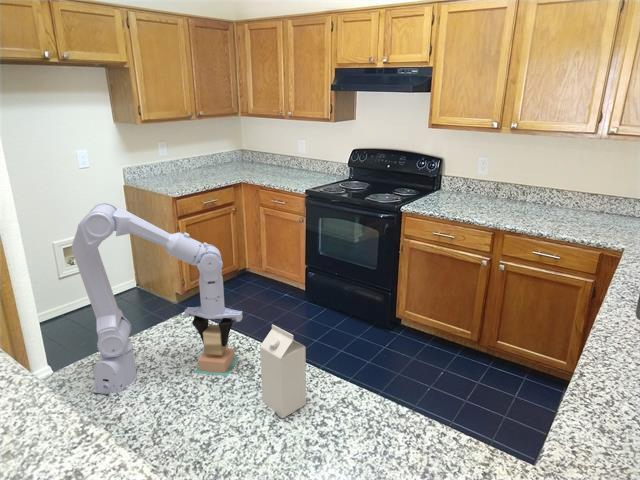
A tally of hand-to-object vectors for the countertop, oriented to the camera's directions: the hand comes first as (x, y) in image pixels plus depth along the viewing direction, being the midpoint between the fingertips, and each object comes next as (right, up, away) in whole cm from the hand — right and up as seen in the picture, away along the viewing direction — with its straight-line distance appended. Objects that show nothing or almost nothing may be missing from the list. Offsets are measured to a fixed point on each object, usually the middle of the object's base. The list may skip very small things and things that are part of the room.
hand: (215, 343), depth 116 cm
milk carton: (+19, -11, -13) cm, 25 cm away
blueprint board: (0, -7, +2) cm, 7 cm away
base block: (0, -6, +2) cm, 6 cm away
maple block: (0, -2, +1) cm, 2 cm away
